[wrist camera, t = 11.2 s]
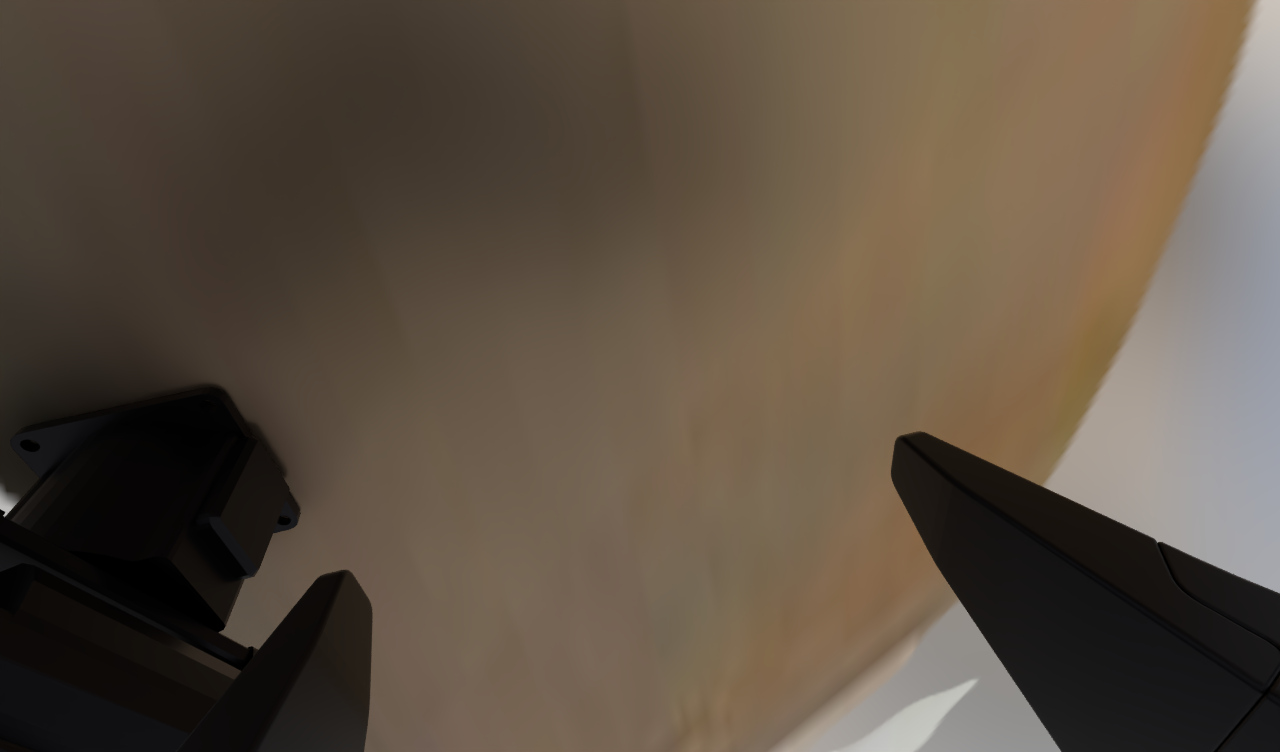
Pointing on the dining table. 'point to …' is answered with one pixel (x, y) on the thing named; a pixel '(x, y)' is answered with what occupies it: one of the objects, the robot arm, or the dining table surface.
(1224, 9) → the dining table surface
